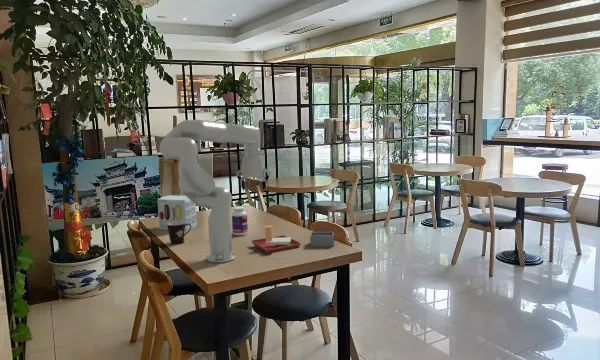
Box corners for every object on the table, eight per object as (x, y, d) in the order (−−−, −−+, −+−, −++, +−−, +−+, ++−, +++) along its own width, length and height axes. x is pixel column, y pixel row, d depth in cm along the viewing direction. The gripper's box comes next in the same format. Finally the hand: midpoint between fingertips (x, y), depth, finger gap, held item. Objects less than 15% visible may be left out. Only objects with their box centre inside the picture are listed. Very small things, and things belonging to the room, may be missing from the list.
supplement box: (158, 230, 254) (156, 199, 251) (170, 225, 266) (168, 195, 264) (186, 231, 250) (184, 199, 247) (197, 226, 262) (195, 195, 260)
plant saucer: (302, 249, 209) (301, 242, 209) (267, 256, 200) (266, 249, 200) (283, 241, 225) (283, 235, 224) (250, 247, 216) (250, 240, 216)
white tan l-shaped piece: (290, 243, 208) (289, 227, 207) (265, 244, 208) (264, 228, 207) (290, 239, 216) (290, 224, 215) (266, 239, 216) (266, 224, 215)
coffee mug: (168, 245, 221) (167, 226, 219) (168, 241, 229) (167, 222, 227) (192, 243, 224) (191, 223, 222) (192, 239, 232) (190, 220, 231)
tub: (334, 248, 208) (333, 235, 208) (310, 248, 209) (310, 235, 208) (334, 244, 215) (333, 231, 214) (311, 244, 216) (310, 232, 215)
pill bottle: (245, 236, 235) (243, 209, 233) (230, 236, 237) (229, 209, 235) (249, 232, 243) (248, 206, 241) (235, 232, 244) (234, 206, 243)
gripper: (232, 154, 209) (233, 190, 211) (269, 153, 207) (270, 190, 209) (236, 153, 216) (238, 188, 218) (272, 152, 214) (273, 188, 216)
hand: (253, 189), depth 214 cm, fingers open, 9 cm apart
